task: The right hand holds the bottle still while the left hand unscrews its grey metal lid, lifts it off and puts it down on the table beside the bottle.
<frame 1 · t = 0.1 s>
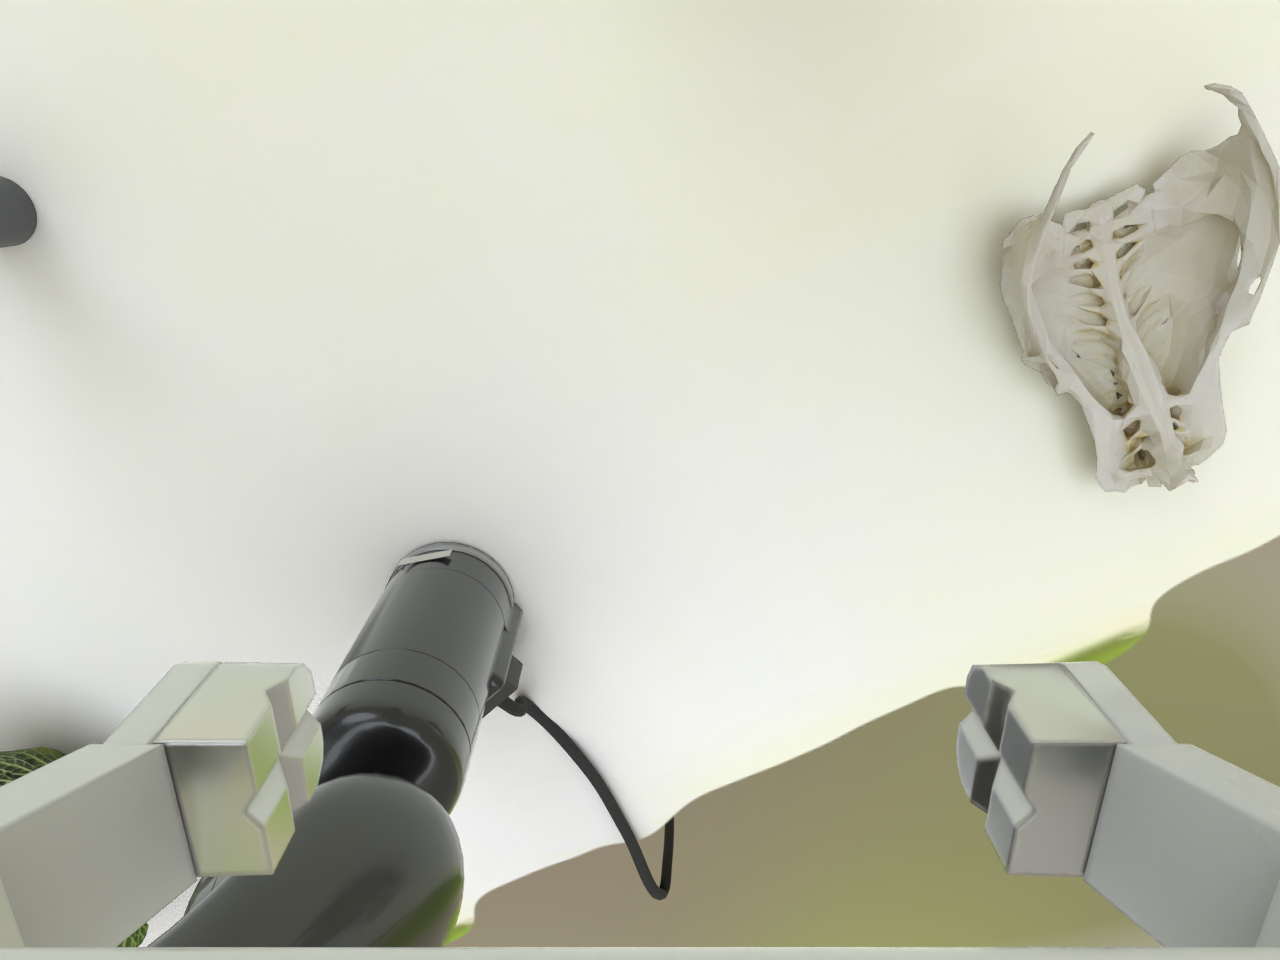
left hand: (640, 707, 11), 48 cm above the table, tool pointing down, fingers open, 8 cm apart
vegetable: (81, 807, 72), on the table
anatomical model: (1108, 305, 57), on the table
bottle: (2, 211, 54), on the table
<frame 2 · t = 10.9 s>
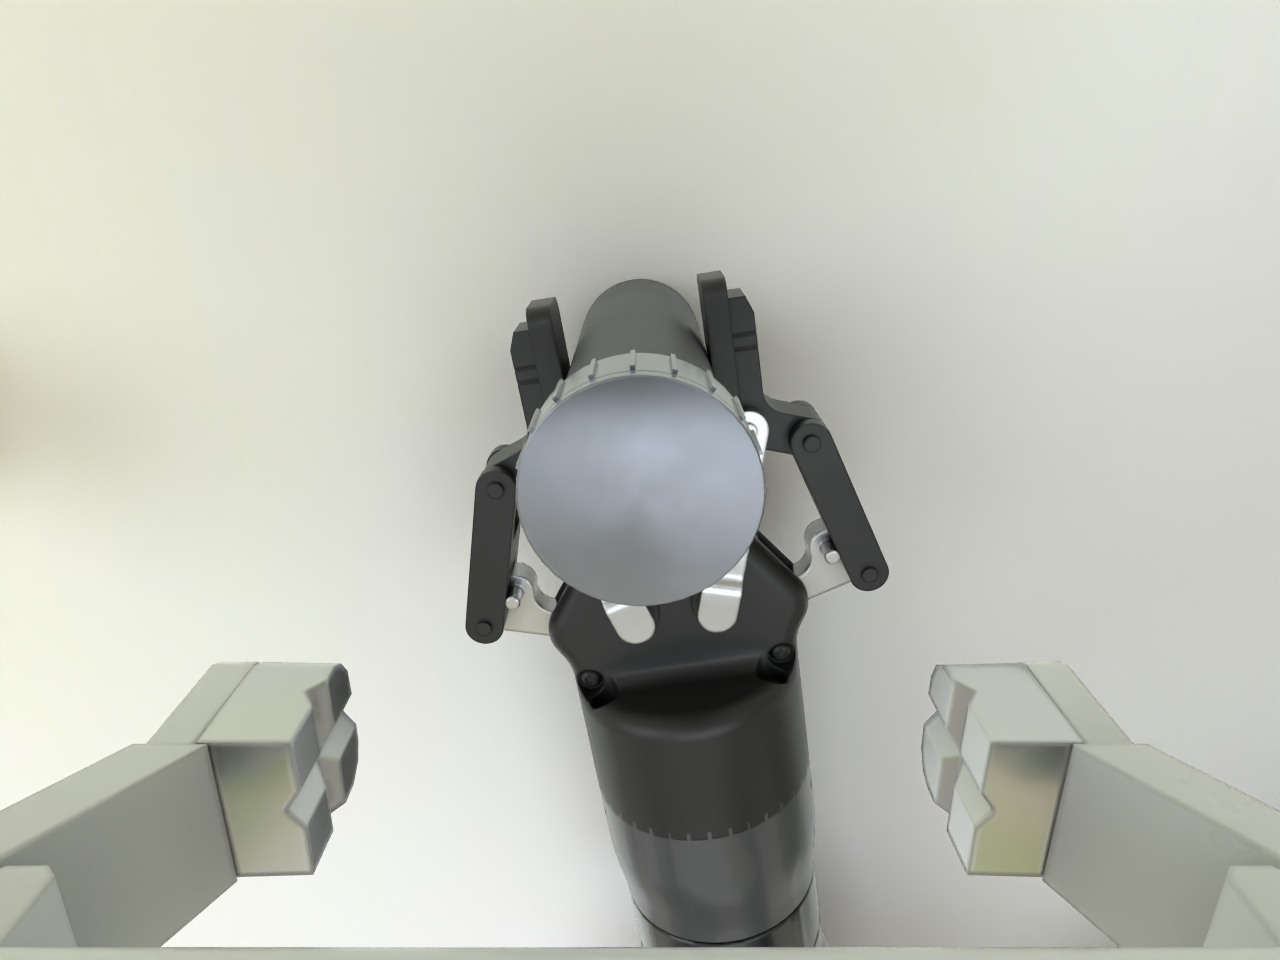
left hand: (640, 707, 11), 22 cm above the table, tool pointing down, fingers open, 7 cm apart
right hand: (624, 292, 24), fingers closed on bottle, 4 cm apart
lid: (640, 490, 17), point 15 cm above the table, screwed on, not yet turned
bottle: (640, 337, 32), on the table, touching right hand
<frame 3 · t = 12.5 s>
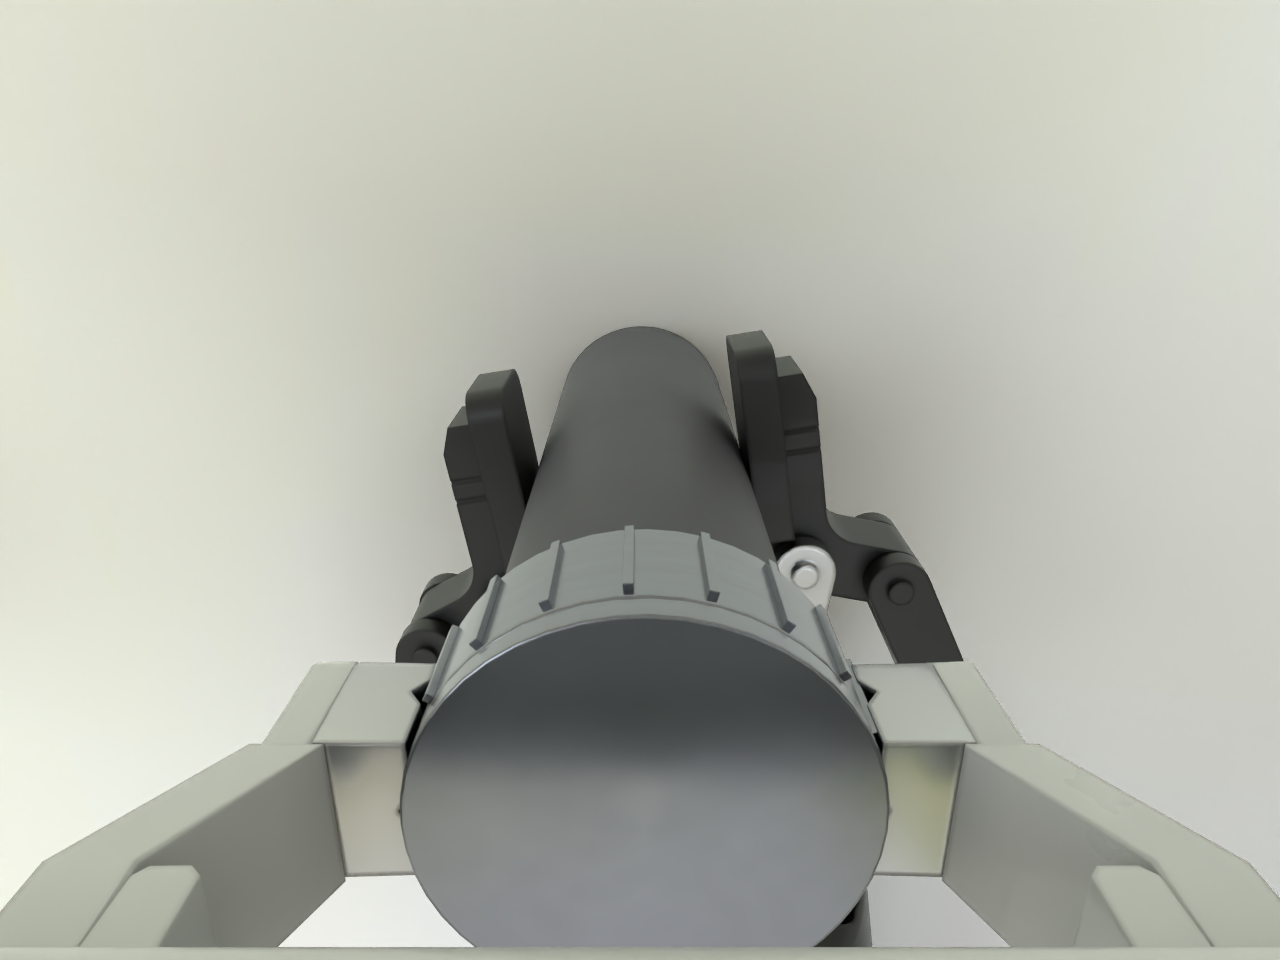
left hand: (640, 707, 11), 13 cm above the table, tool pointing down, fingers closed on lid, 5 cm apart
lid: (644, 804, 9), point 15 cm above the table, screwed on, not yet turned, touching left hand
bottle: (641, 404, 23), on the table, touching right hand
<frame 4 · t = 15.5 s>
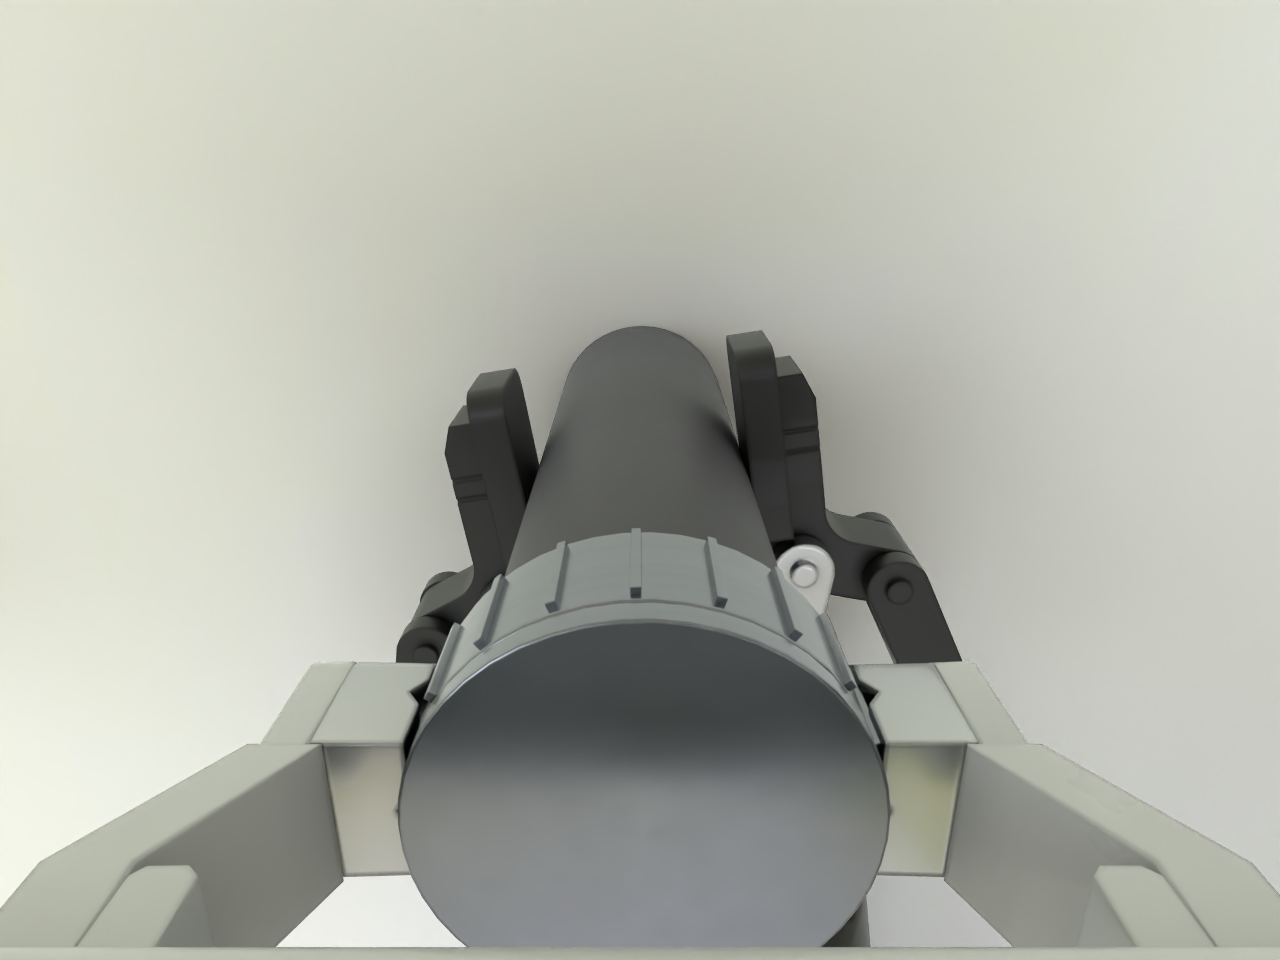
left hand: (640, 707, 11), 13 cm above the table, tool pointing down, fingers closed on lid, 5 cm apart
lid: (643, 809, 9), point 15 cm above the table, turned 74° so far, risen 0.1 cm, still on its thread, touching left hand
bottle: (641, 403, 23), on the table, touching right hand
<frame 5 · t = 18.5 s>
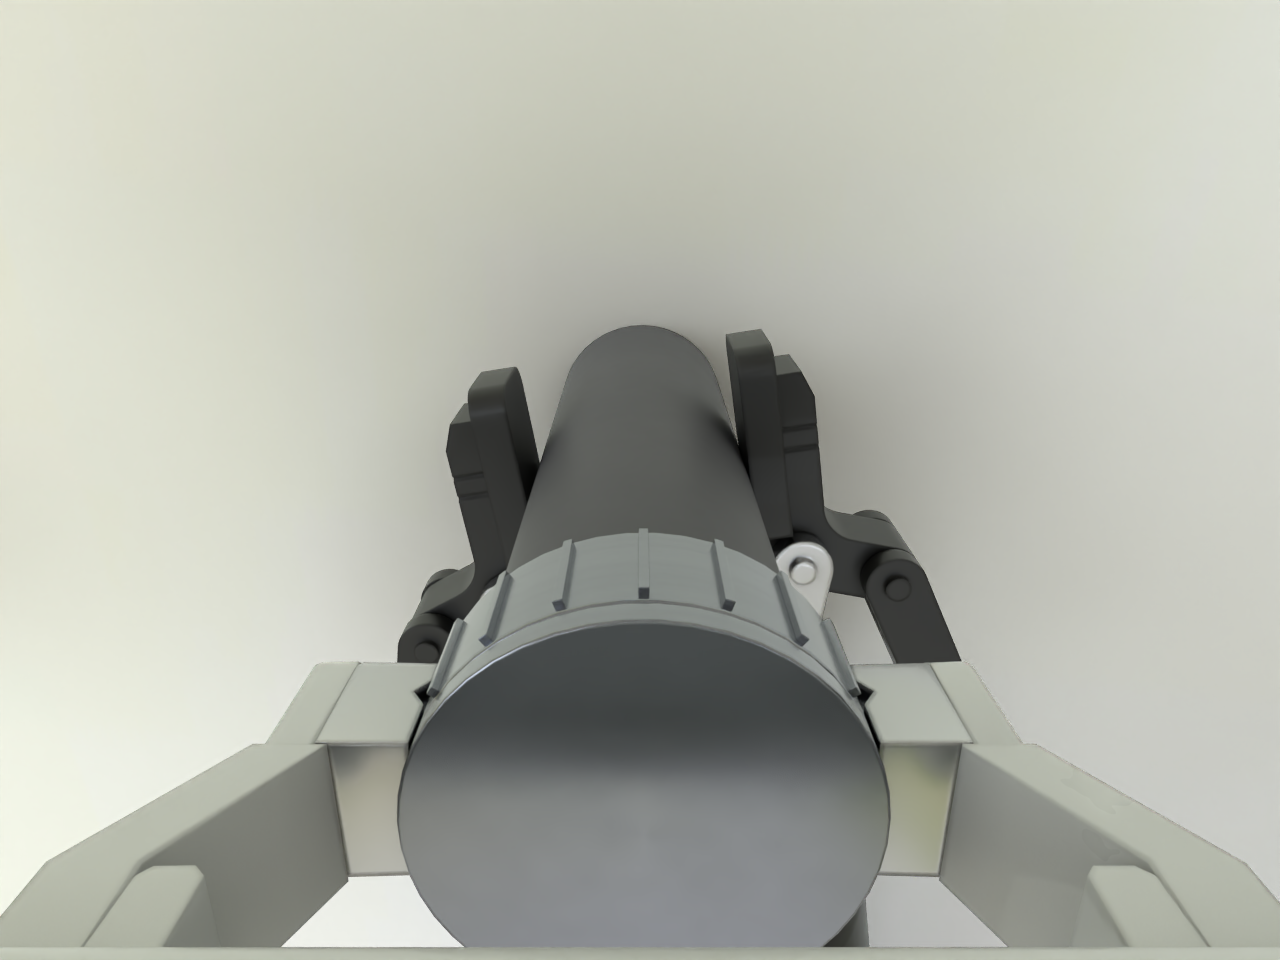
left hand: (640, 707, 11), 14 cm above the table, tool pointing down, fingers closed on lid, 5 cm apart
lid: (643, 810, 9), point 15 cm above the table, turned 148° so far, risen 0.3 cm, still on its thread, touching left hand
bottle: (641, 402, 23), on the table, touching right hand
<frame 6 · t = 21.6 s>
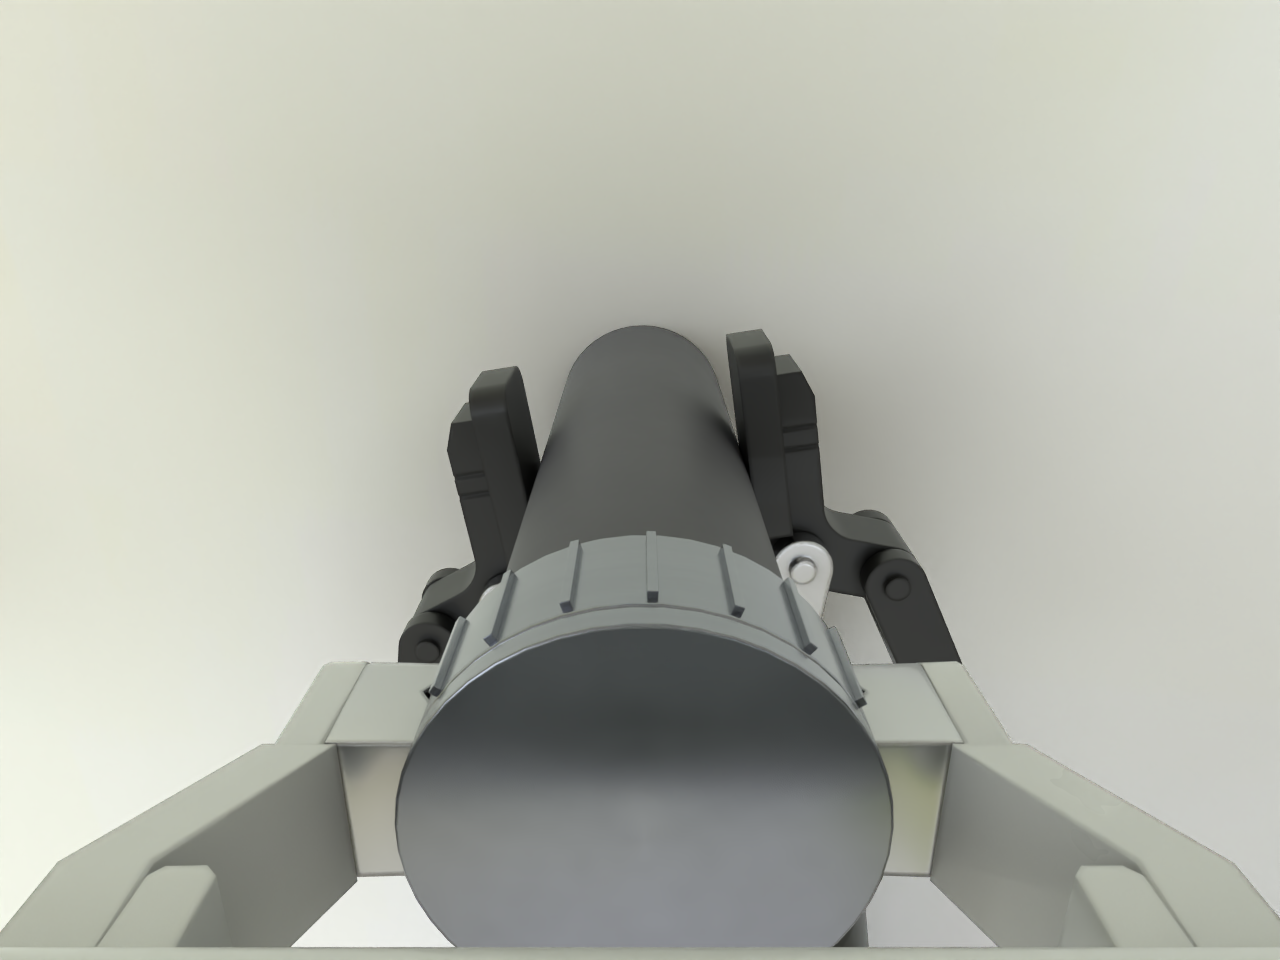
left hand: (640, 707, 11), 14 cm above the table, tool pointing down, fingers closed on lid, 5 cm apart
lid: (644, 815, 9), point 15 cm above the table, turned 222° so far, risen 0.4 cm, still on its thread, touching left hand
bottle: (642, 402, 23), on the table, touching right hand
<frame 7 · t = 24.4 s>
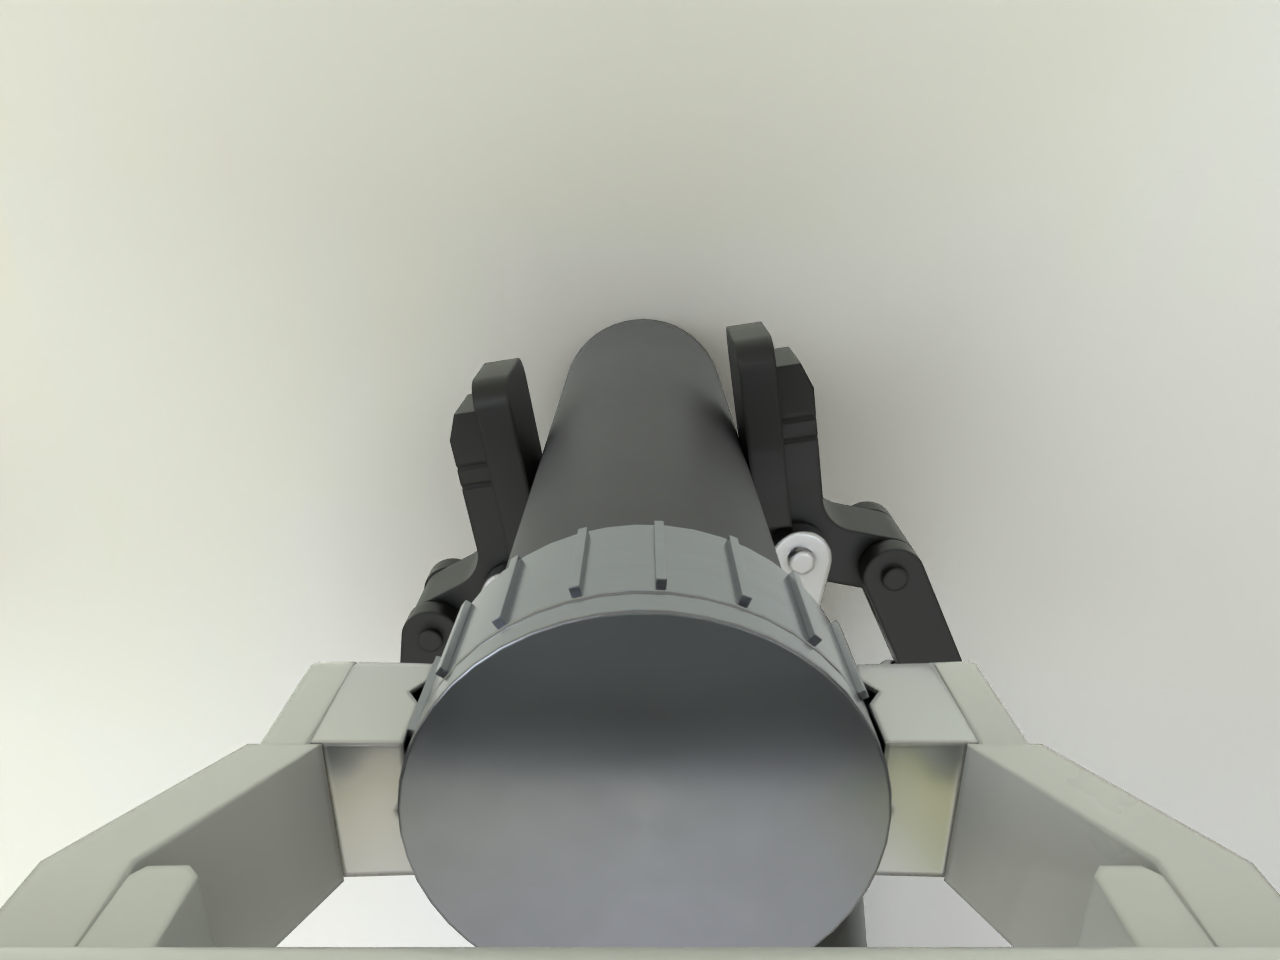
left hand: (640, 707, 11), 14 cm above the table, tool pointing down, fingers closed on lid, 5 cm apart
lid: (644, 802, 9), point 16 cm above the table, turned 296° so far, risen 0.5 cm, still on its thread, touching left hand
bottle: (642, 396, 24), on the table, touching right hand
when the left hand's fingers open (2 cm above the table, at t = 33.0 s): lid drops 2 cm, point 2 cm above the table.
when the right hand's fingers open (6 cm above the table, at t = 34.0 s): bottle stays where it is, on the table.
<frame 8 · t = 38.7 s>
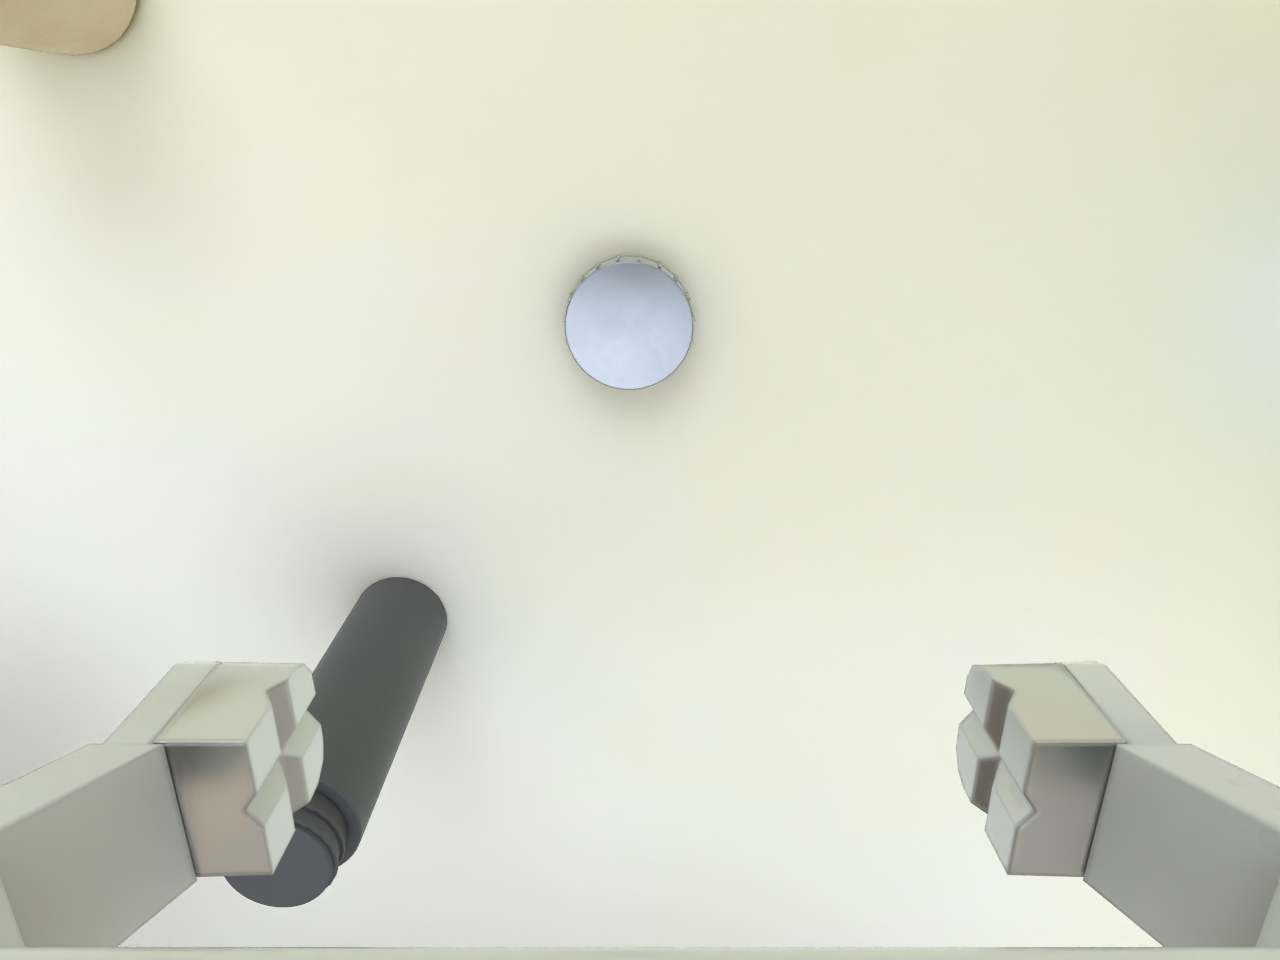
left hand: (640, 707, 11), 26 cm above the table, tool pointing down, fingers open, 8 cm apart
lid: (629, 325, 34), point 2 cm above the table, off its thread
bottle: (401, 617, 40), on the table
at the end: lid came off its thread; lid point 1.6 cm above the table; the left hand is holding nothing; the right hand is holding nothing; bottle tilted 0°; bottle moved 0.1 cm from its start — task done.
